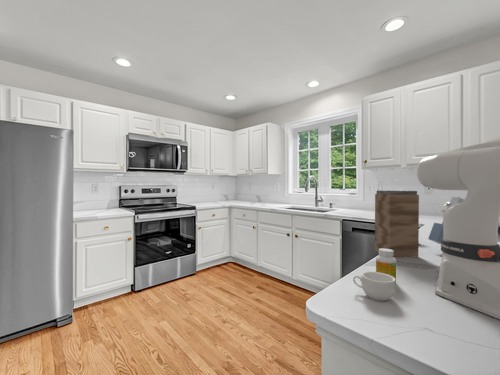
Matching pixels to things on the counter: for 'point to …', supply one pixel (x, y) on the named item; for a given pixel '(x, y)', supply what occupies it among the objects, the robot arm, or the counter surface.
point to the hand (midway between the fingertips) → (452, 203)
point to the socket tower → (397, 222)
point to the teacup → (377, 285)
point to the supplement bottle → (386, 262)
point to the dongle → (437, 228)
